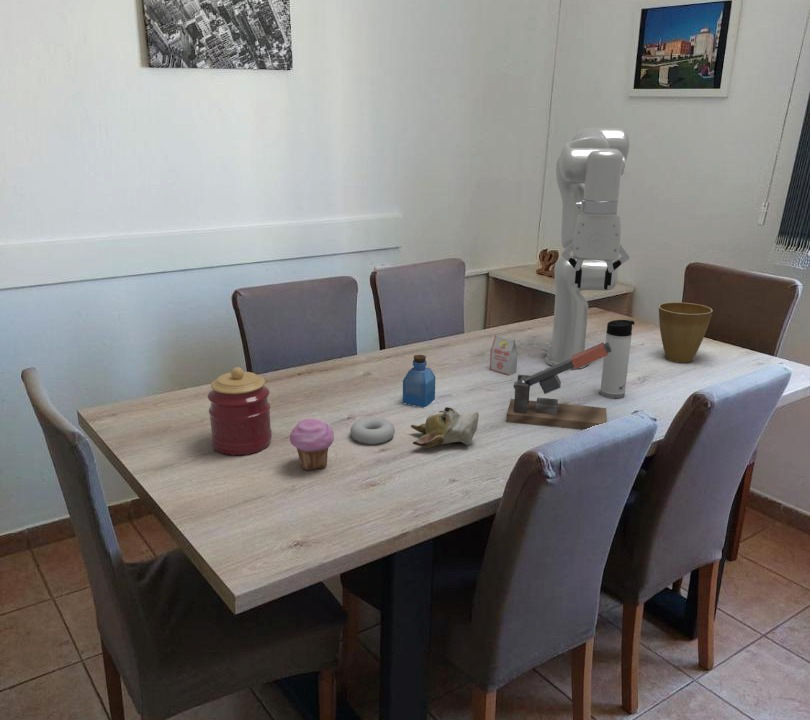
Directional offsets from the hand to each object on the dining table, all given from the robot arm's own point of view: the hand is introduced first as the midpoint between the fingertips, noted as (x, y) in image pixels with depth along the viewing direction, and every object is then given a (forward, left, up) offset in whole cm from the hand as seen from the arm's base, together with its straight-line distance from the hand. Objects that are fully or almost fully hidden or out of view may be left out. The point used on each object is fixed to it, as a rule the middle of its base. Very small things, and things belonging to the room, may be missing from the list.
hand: (592, 286), depth 165 cm
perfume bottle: (-32, -24, -32) cm, 51 cm away
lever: (0, -6, -22) cm, 23 cm away
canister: (-41, -70, -32) cm, 87 cm away
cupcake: (-22, -65, -32) cm, 76 cm away
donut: (-24, -47, -32) cm, 61 cm away
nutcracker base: (-2, -7, -31) cm, 32 cm away
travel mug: (-1, +17, -32) cm, 36 cm away
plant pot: (-3, +58, -32) cm, 66 cm away
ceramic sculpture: (-11, -37, -32) cm, 50 cm away
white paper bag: (-32, +10, -32) cm, 46 cm away
